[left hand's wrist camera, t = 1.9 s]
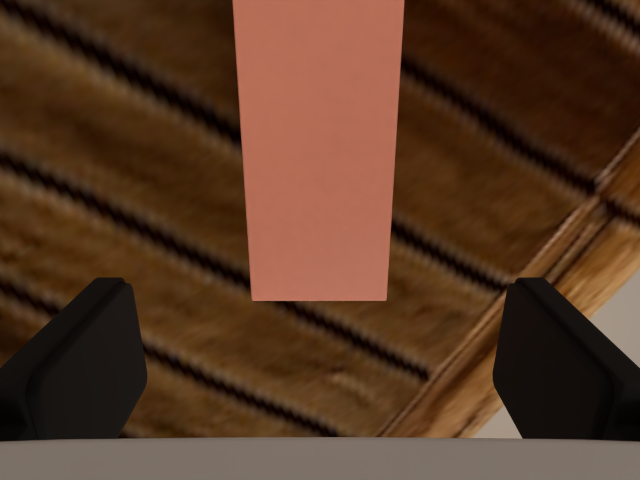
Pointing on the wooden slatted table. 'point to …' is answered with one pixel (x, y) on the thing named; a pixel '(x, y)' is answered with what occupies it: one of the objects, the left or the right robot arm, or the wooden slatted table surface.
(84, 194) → the wooden slatted table surface
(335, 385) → the wooden slatted table surface
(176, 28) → the wooden slatted table surface
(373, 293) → the cabinet
